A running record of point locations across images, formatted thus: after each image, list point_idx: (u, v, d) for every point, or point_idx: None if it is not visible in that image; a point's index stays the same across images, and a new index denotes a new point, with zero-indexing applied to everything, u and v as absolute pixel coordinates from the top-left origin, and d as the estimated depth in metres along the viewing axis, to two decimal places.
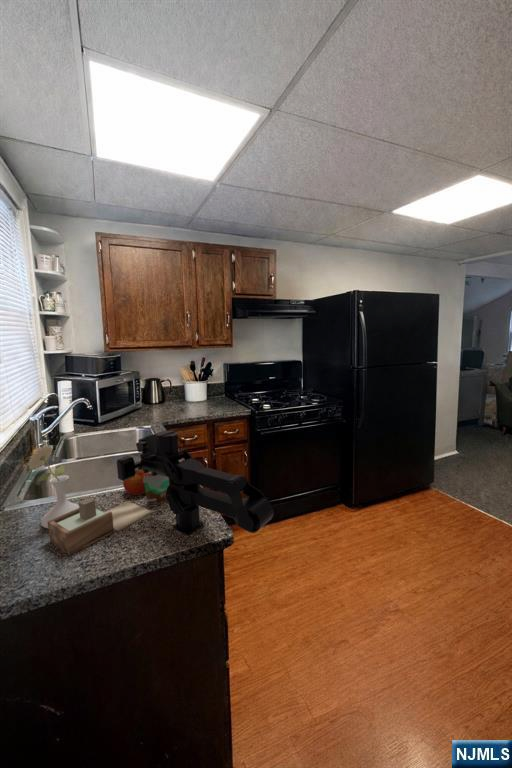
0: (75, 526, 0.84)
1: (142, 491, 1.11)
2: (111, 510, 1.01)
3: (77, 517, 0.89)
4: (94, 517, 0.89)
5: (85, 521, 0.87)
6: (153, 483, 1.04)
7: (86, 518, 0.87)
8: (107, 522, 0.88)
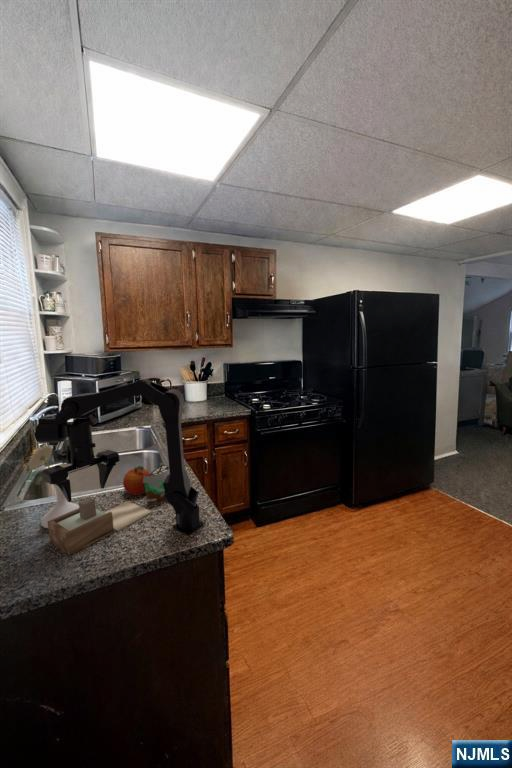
0: (75, 526, 0.84)
1: (142, 491, 1.11)
2: (111, 510, 1.01)
3: (77, 517, 0.89)
4: (94, 517, 0.89)
5: (85, 521, 0.87)
6: (153, 483, 1.04)
7: (86, 518, 0.87)
8: (107, 522, 0.88)
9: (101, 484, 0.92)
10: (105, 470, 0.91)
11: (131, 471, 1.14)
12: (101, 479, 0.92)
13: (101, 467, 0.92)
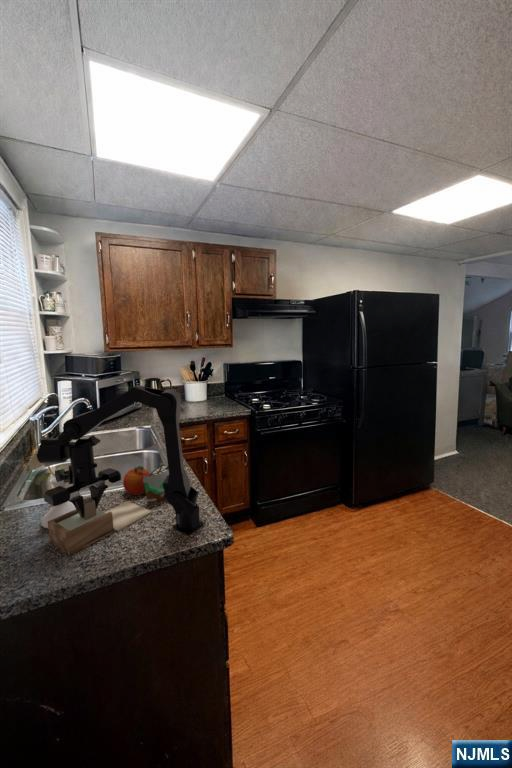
0: (75, 526, 0.84)
1: (142, 491, 1.11)
2: (111, 510, 1.01)
3: (77, 517, 0.89)
4: (94, 517, 0.89)
5: (85, 521, 0.87)
6: (153, 483, 1.04)
7: (86, 518, 0.87)
8: (107, 522, 0.88)
9: None
10: (97, 494, 0.89)
11: (131, 471, 1.14)
12: None
13: (93, 489, 0.90)
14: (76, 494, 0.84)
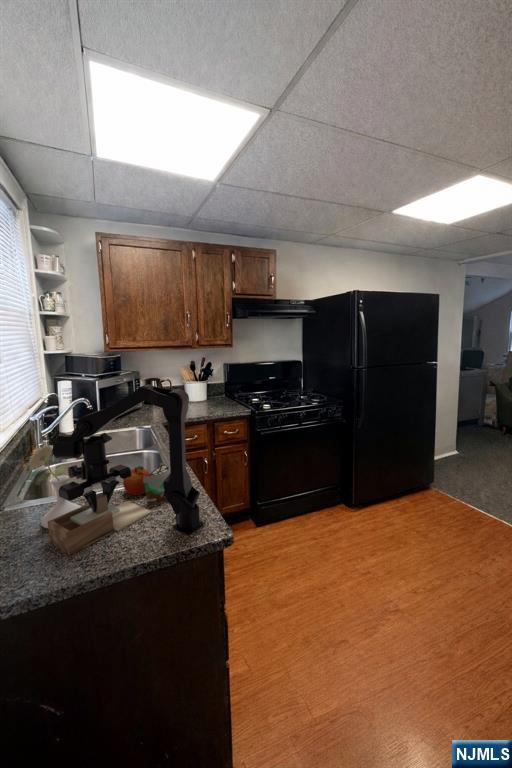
0: (88, 520, 0.87)
1: (142, 491, 1.11)
2: None
3: (89, 511, 0.92)
4: (106, 511, 0.91)
5: (98, 515, 0.89)
6: (153, 483, 1.04)
7: (98, 512, 0.90)
8: (107, 522, 0.88)
9: None
10: (109, 489, 0.92)
11: (131, 471, 1.14)
12: None
13: (105, 485, 0.93)
14: (89, 489, 0.87)
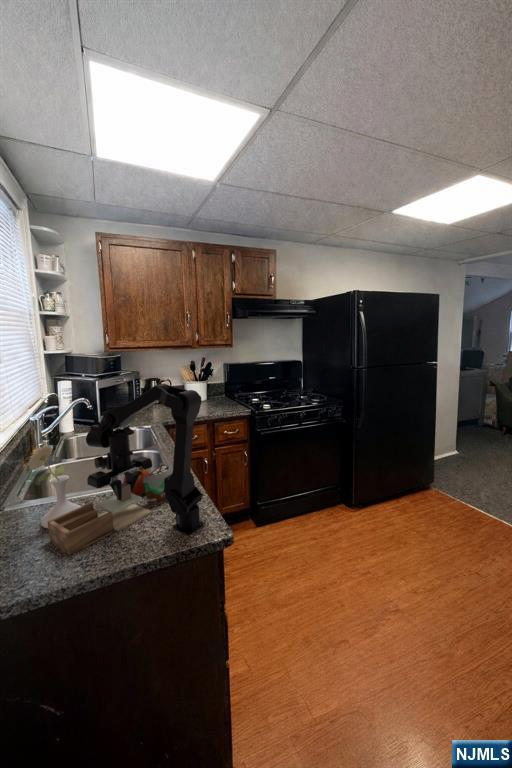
0: (114, 507, 0.93)
1: (142, 491, 1.11)
2: None
3: (114, 499, 0.98)
4: (130, 499, 0.98)
5: (122, 503, 0.96)
6: (153, 483, 1.04)
7: (123, 500, 0.97)
8: (107, 522, 0.88)
9: None
10: (132, 479, 0.98)
11: None
12: None
13: (128, 475, 0.99)
14: (115, 478, 0.93)
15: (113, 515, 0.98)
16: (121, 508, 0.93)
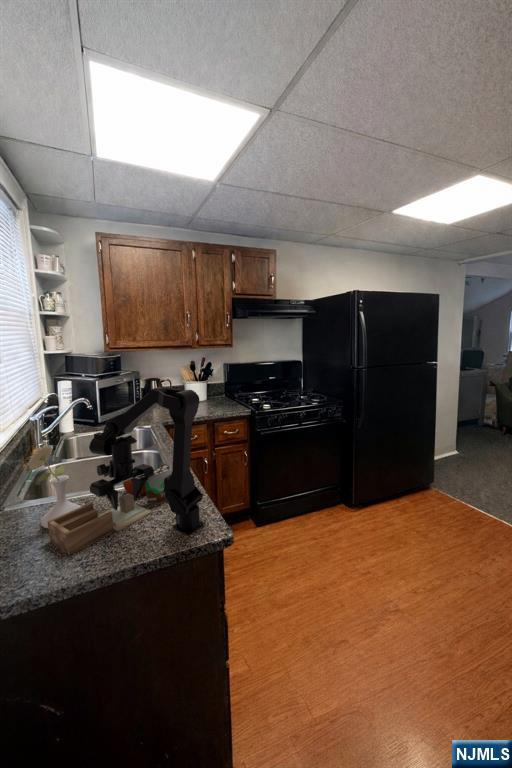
0: (118, 518, 0.95)
1: (142, 491, 1.11)
2: (111, 510, 1.01)
3: (118, 511, 0.99)
4: (133, 511, 0.99)
5: (126, 514, 0.97)
6: (153, 482, 1.05)
7: (126, 511, 0.98)
8: (107, 522, 0.88)
9: (134, 497, 1.02)
10: (139, 484, 1.01)
11: None
12: (135, 492, 1.02)
13: (135, 481, 1.02)
14: None
15: None
16: (124, 520, 0.94)
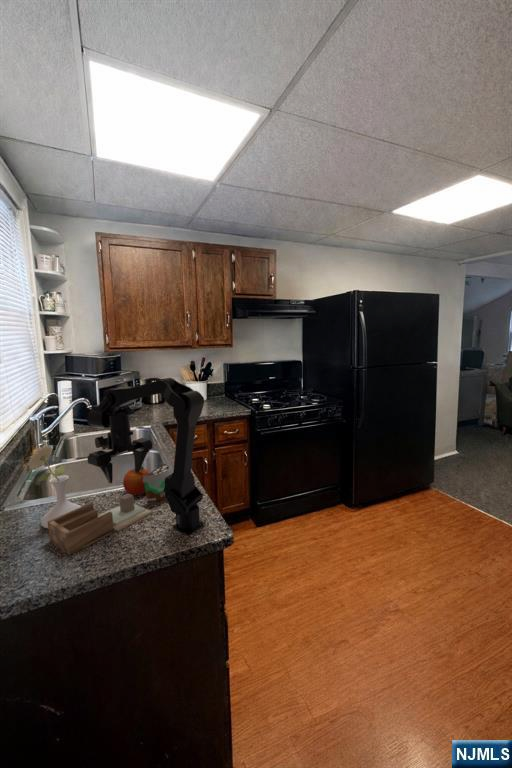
0: (118, 518, 0.95)
1: (142, 491, 1.11)
2: (111, 510, 1.01)
3: (118, 511, 0.99)
4: (133, 511, 0.99)
5: (126, 514, 0.97)
6: (153, 483, 1.05)
7: (126, 511, 0.98)
8: (107, 522, 0.88)
9: (136, 469, 1.02)
10: (140, 456, 1.01)
11: (131, 471, 1.14)
12: (136, 464, 1.02)
13: (137, 453, 1.02)
14: None
15: None
16: (124, 520, 0.94)
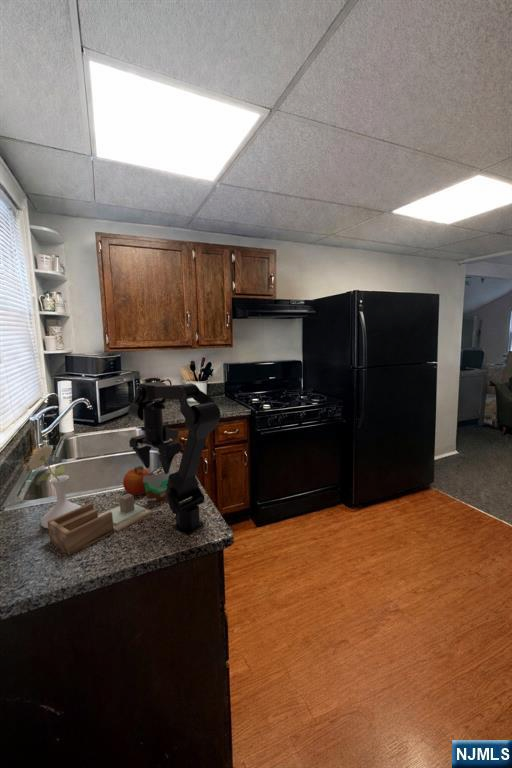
0: (118, 518, 0.95)
1: (142, 491, 1.11)
2: (111, 510, 1.01)
3: (118, 511, 0.99)
4: (133, 511, 0.99)
5: (126, 514, 0.97)
6: (153, 483, 1.05)
7: (126, 511, 0.98)
8: (107, 522, 0.88)
9: None
10: None
11: (131, 471, 1.14)
12: None
13: None
14: None
15: None
16: (124, 520, 0.94)
